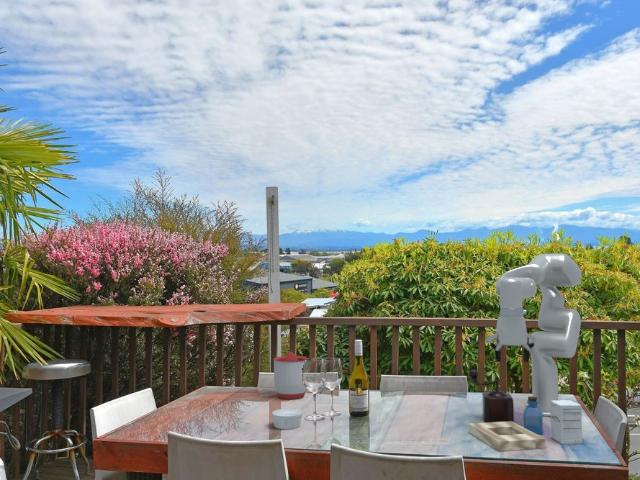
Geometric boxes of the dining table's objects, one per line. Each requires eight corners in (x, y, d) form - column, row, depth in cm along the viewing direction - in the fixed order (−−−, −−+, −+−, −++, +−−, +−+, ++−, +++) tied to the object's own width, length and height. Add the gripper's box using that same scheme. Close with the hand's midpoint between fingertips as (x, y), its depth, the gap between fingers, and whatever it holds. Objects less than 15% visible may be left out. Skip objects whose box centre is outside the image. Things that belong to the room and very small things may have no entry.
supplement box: (550, 438, 206) (549, 400, 207) (571, 437, 207) (571, 399, 207) (561, 444, 199) (560, 405, 199) (582, 443, 200) (582, 404, 200)
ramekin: (279, 432, 215) (279, 417, 215) (266, 424, 225) (266, 410, 225) (307, 428, 220) (307, 413, 221) (294, 421, 230) (294, 406, 231)
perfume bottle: (542, 430, 215) (541, 396, 216) (542, 435, 210) (542, 399, 210) (523, 429, 218) (523, 394, 218) (523, 433, 212) (523, 398, 212)
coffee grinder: (509, 417, 234) (509, 369, 235) (514, 424, 223) (513, 374, 224) (468, 415, 237) (467, 368, 237) (470, 423, 226) (470, 374, 226)
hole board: (511, 429, 216) (511, 421, 217) (545, 448, 195) (545, 438, 195) (469, 432, 213) (468, 423, 214) (498, 451, 192) (498, 441, 192)
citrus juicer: (312, 400, 264) (311, 353, 264) (271, 400, 264) (271, 354, 265) (313, 393, 279) (312, 348, 280) (274, 393, 280) (274, 349, 280)
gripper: (532, 312, 222) (533, 359, 221) (484, 312, 223) (485, 359, 222) (539, 314, 214) (540, 363, 214) (489, 314, 215) (490, 363, 215)
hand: (512, 361), depth 218 cm, fingers open, 9 cm apart
